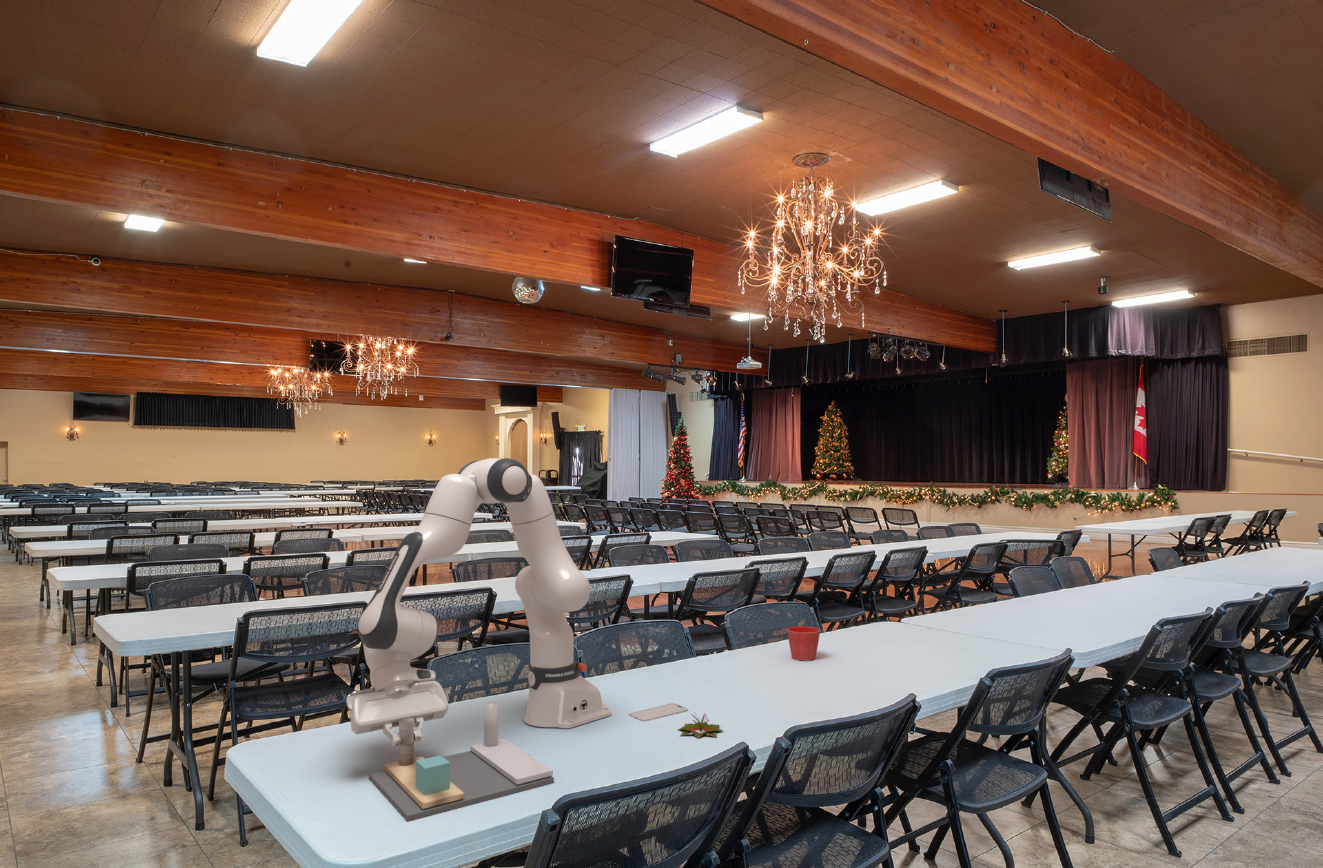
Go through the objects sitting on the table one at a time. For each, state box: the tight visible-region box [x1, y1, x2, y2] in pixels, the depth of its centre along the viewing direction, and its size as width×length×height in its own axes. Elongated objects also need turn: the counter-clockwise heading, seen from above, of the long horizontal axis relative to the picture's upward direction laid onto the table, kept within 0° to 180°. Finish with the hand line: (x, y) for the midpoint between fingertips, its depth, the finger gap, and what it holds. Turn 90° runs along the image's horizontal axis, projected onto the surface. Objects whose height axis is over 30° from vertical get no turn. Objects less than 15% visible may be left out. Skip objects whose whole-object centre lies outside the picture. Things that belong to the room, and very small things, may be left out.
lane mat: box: [368, 750, 555, 822], centre depth 165 cm, size 30×25×1 cm
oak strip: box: [383, 718, 464, 809], centre depth 160 cm, size 8×24×10 cm, turn 36°
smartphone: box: [628, 703, 689, 722], centre depth 209 cm, size 7×1×15 cm
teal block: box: [416, 755, 450, 795], centre depth 155 cm, size 5×5×5 cm
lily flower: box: [677, 712, 724, 740], centre depth 194 cm, size 12×12×5 cm
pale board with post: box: [470, 701, 554, 785], centre depth 171 cm, size 8×24×10 cm, turn 36°
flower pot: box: [786, 626, 821, 662], centre depth 267 cm, size 11×11×10 cm
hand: (407, 742), depth 168 cm, fingers closed on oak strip, 3 cm apart
